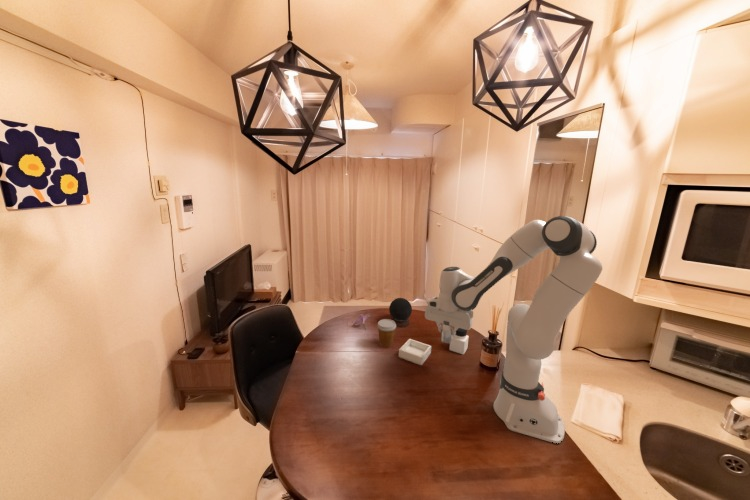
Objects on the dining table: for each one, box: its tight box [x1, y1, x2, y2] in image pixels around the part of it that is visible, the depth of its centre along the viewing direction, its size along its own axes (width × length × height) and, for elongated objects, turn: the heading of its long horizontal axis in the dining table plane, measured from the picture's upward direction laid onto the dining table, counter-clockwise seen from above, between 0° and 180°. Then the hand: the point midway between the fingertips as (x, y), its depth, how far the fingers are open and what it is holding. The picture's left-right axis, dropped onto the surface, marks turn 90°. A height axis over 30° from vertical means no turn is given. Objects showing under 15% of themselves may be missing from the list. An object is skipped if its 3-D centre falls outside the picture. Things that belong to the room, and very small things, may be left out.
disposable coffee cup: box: [376, 318, 397, 349], centre depth 145 cm, size 10×10×12 cm
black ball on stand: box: [388, 297, 413, 328], centre depth 167 cm, size 13×13×15 cm
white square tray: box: [398, 338, 432, 366], centre depth 137 cm, size 12×12×4 cm
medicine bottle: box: [448, 328, 470, 355], centre depth 142 cm, size 7×7×12 cm
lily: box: [351, 313, 372, 331], centre depth 161 cm, size 12×12×10 cm
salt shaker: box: [440, 321, 454, 344], centre depth 126 cm, size 4×4×11 cm
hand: (446, 332), depth 127 cm, fingers closed on salt shaker, 4 cm apart
